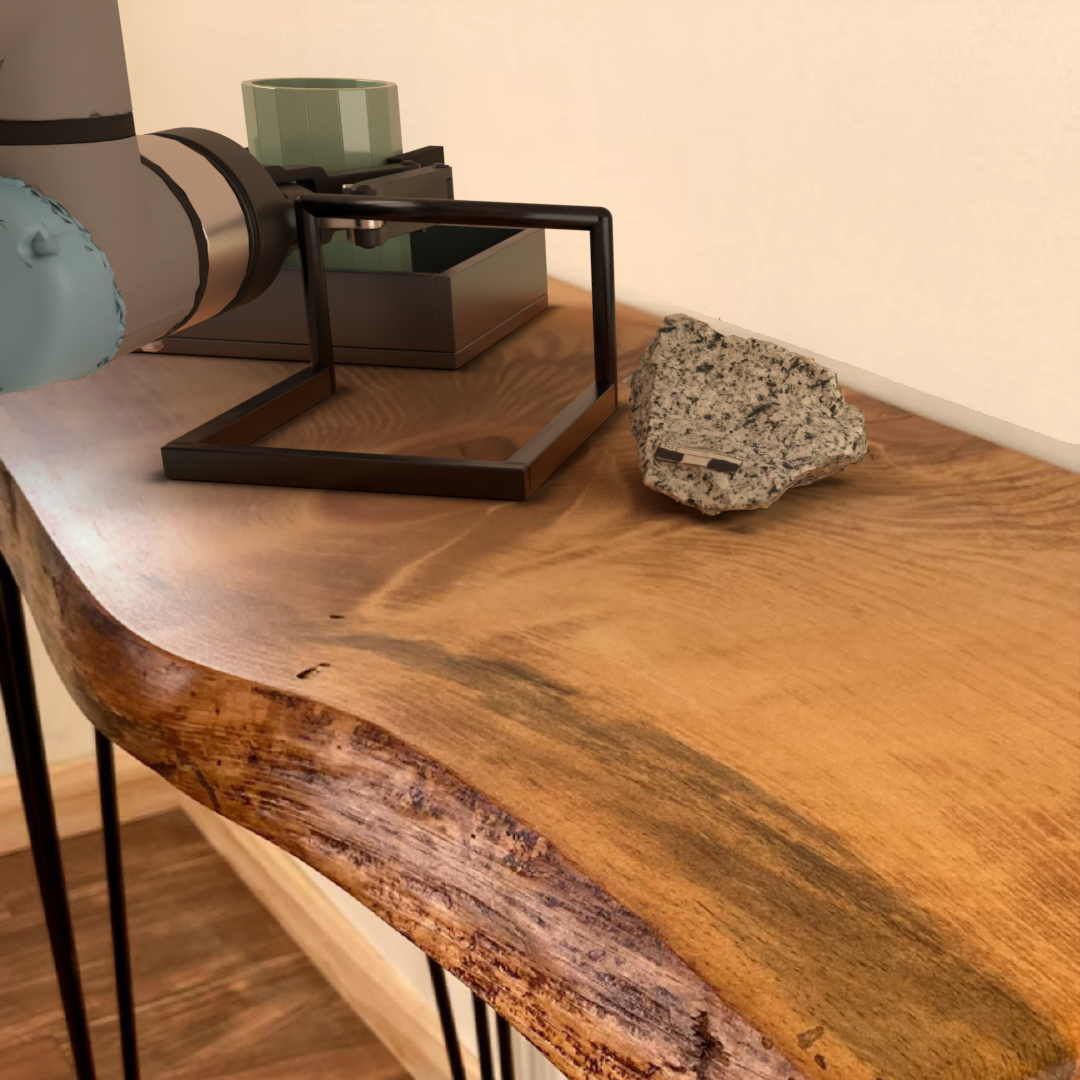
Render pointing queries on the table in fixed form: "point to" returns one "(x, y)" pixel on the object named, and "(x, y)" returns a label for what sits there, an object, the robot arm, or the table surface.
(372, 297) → the black shallow open box
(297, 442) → the table surface
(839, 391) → the rock sample
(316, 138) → the cup
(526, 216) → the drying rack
